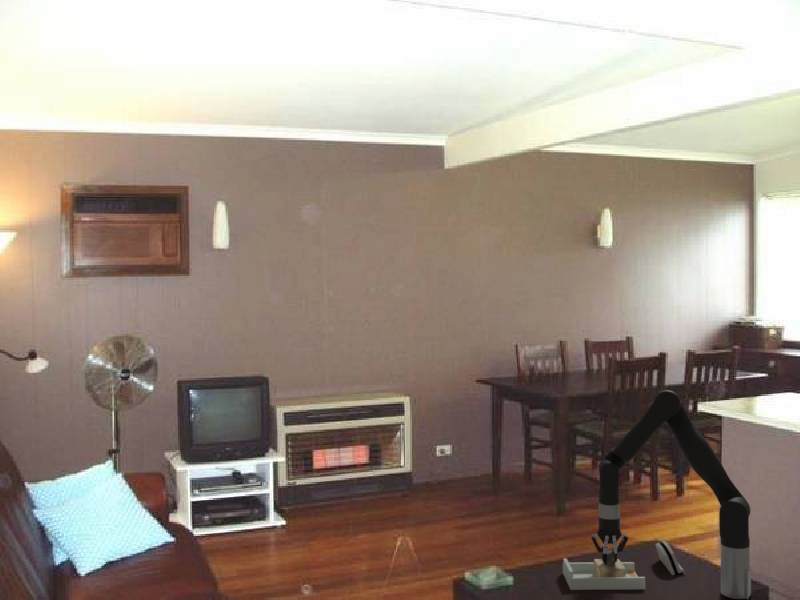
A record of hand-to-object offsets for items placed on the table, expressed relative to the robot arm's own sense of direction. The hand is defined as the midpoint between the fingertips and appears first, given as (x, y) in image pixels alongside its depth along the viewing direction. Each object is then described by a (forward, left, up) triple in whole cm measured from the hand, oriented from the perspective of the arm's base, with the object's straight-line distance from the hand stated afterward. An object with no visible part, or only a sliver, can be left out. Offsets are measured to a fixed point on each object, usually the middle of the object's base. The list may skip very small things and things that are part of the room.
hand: (609, 562), depth 299 cm
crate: (0, 0, -5) cm, 5 cm away
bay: (+2, +1, -7) cm, 7 cm away
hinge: (-15, -25, -7) cm, 30 cm away
